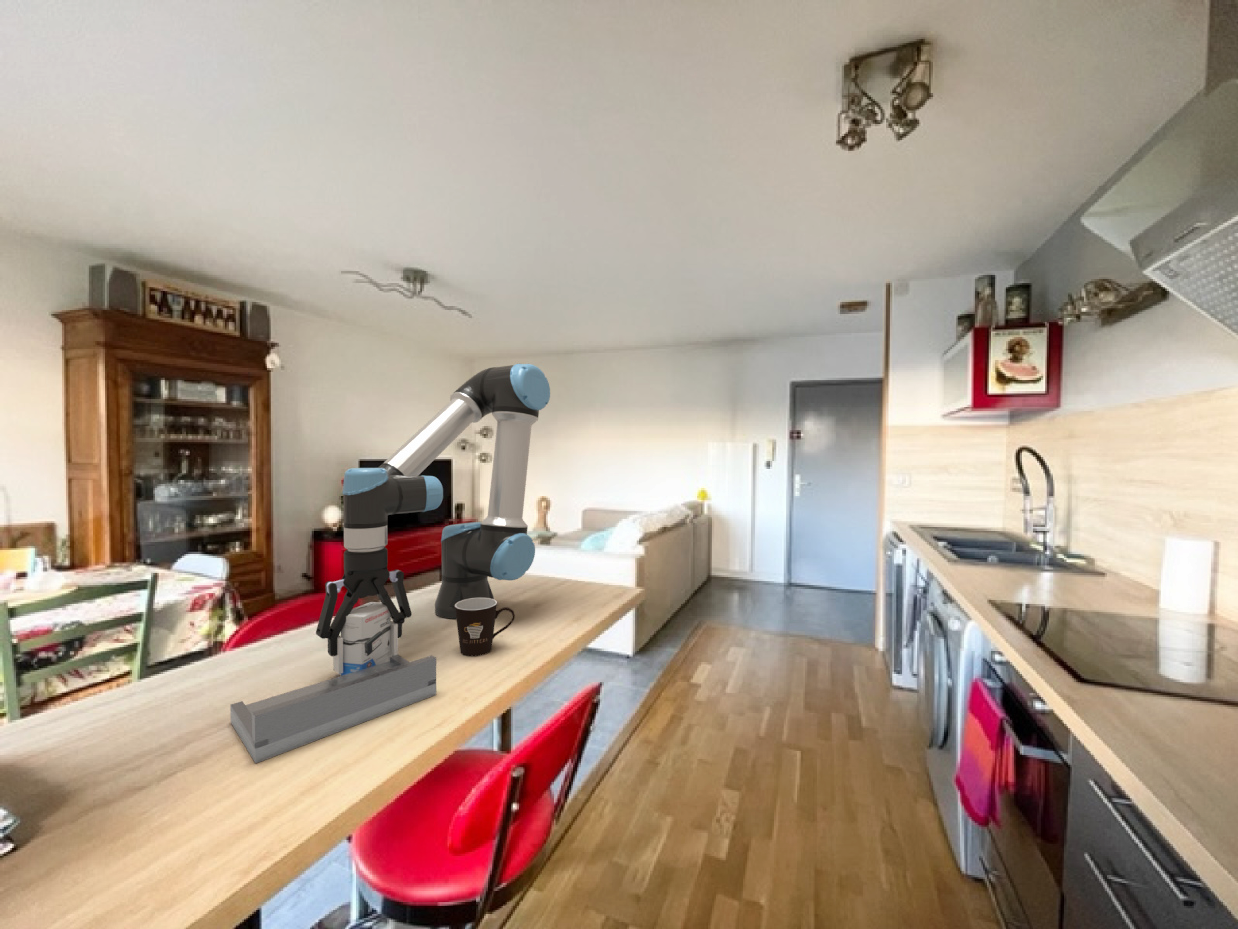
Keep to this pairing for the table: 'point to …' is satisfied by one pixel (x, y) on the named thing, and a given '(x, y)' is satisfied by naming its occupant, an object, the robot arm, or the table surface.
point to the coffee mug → (477, 625)
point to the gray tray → (331, 705)
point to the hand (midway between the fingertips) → (366, 662)
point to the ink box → (366, 637)
